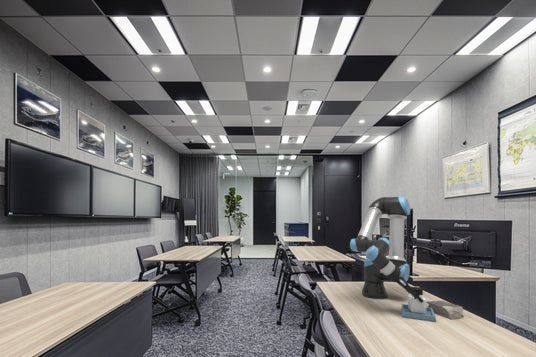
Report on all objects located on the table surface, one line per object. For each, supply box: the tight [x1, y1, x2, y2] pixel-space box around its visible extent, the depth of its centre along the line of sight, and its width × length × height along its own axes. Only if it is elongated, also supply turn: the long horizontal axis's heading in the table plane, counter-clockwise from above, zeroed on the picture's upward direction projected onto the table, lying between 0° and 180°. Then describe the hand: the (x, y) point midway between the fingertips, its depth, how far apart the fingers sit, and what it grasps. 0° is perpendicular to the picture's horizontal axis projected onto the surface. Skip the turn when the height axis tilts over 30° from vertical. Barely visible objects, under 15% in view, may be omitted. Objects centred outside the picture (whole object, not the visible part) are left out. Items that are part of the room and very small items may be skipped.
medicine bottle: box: [407, 286, 427, 314], centre depth 150 cm, size 7×7×12 cm
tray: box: [400, 303, 437, 323], centre depth 149 cm, size 15×15×2 cm
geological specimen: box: [426, 300, 464, 321], centre depth 152 cm, size 11×6×15 cm
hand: (424, 304), depth 149 cm, fingers closed on medicine bottle, 7 cm apart
